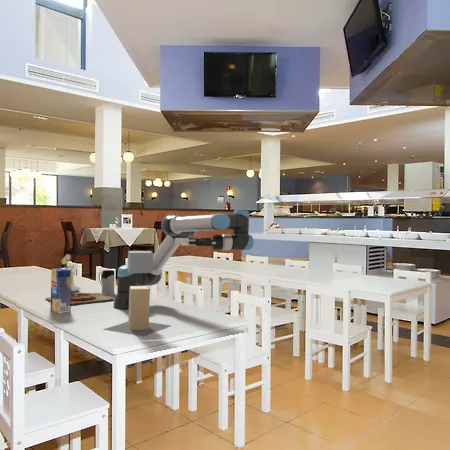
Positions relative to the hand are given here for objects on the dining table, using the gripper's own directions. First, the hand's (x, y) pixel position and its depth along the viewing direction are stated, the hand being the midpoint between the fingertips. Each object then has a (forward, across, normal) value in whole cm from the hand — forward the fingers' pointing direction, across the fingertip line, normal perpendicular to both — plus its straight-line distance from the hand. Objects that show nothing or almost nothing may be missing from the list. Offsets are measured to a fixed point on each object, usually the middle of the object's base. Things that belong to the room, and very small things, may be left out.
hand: (178, 241), depth 203 cm
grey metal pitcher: (+27, +96, -40) cm, 108 cm away
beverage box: (+53, +46, -40) cm, 81 cm away
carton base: (+17, 0, -39) cm, 43 cm away
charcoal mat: (+17, 0, -40) cm, 44 cm away
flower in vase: (+50, +107, -40) cm, 124 cm away
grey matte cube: (+17, 0, -14) cm, 22 cm away
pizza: (+43, +75, -41) cm, 95 cm away
